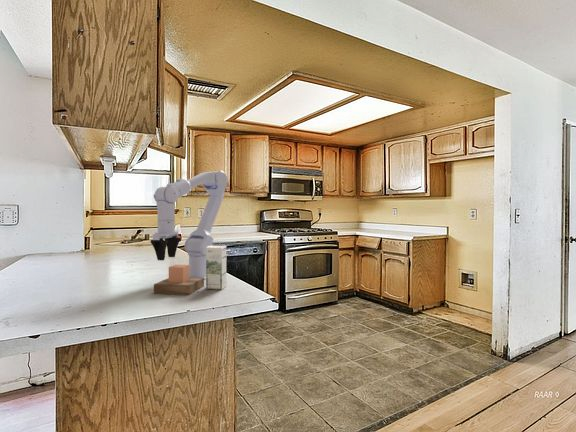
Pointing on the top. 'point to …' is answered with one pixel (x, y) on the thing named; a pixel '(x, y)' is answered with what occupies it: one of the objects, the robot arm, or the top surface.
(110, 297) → the top surface
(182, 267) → the cube
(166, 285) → the walnut base
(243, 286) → the top surface
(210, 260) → the syrup box
